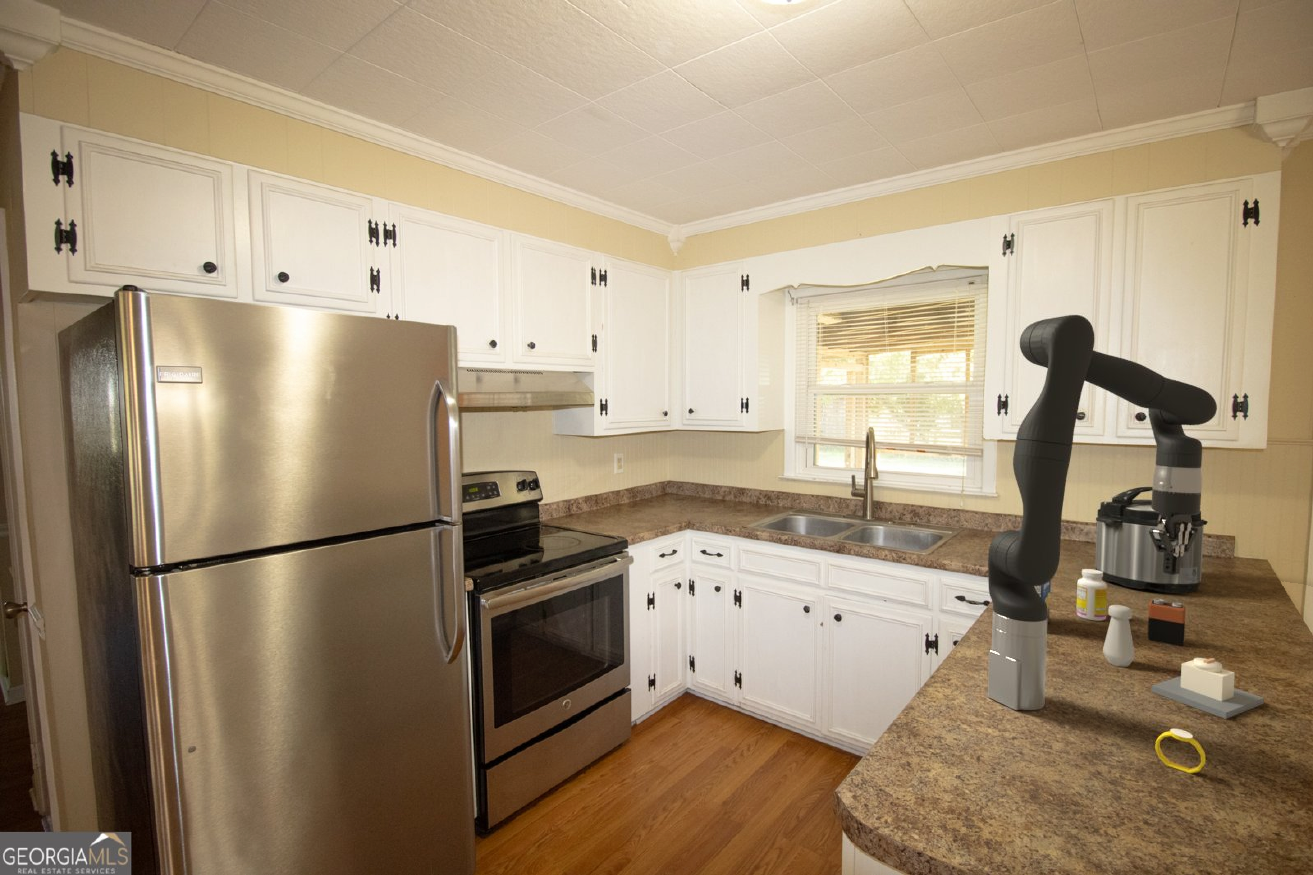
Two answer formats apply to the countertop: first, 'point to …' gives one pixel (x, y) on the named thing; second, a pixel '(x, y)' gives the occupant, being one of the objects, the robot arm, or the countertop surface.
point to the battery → (1166, 622)
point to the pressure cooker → (1141, 546)
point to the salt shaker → (1119, 637)
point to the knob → (1207, 678)
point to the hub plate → (1208, 699)
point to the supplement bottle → (1092, 595)
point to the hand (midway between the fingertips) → (1171, 573)
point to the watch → (1181, 736)
